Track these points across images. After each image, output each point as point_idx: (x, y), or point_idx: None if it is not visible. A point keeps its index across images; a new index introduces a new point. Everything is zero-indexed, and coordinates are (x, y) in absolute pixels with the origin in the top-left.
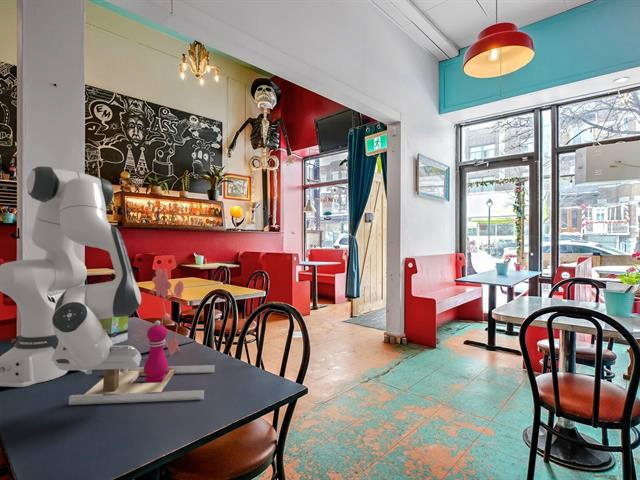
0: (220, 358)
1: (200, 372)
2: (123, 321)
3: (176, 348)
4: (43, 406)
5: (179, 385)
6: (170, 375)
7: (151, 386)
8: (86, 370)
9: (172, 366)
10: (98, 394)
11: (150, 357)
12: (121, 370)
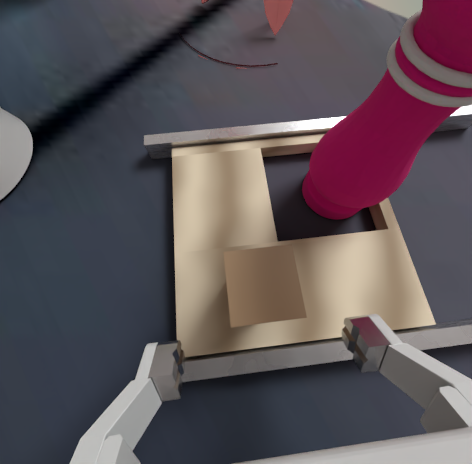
0: None
1: None
2: None
3: (291, 5)
4: (70, 391)
5: (424, 217)
6: None
7: (376, 262)
8: (156, 401)
9: None
10: (239, 360)
11: (378, 152)
12: (369, 370)
